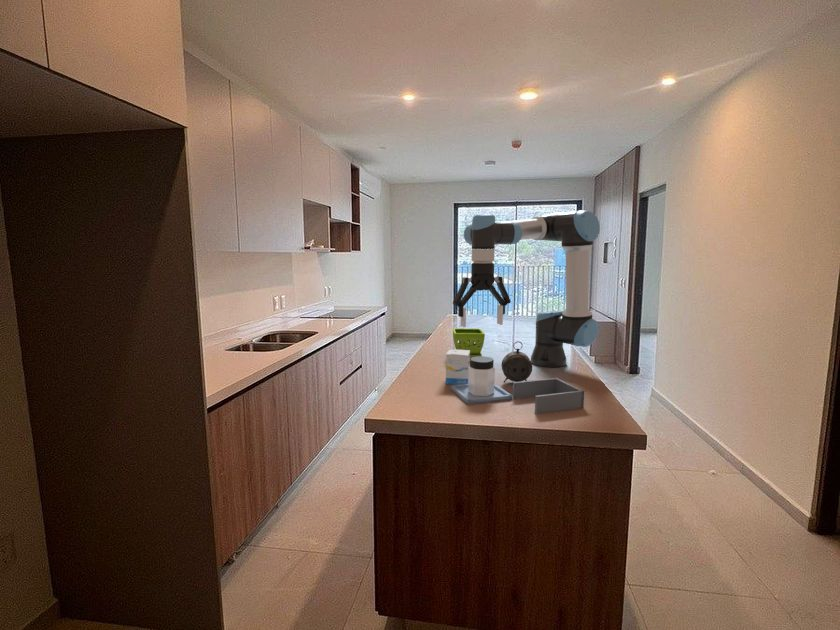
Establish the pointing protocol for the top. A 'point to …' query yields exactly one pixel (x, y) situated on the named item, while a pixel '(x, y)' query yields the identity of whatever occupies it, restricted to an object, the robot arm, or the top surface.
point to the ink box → (457, 366)
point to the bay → (550, 394)
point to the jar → (481, 376)
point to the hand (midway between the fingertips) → (481, 325)
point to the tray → (471, 399)
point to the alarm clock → (516, 366)
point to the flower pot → (469, 340)
